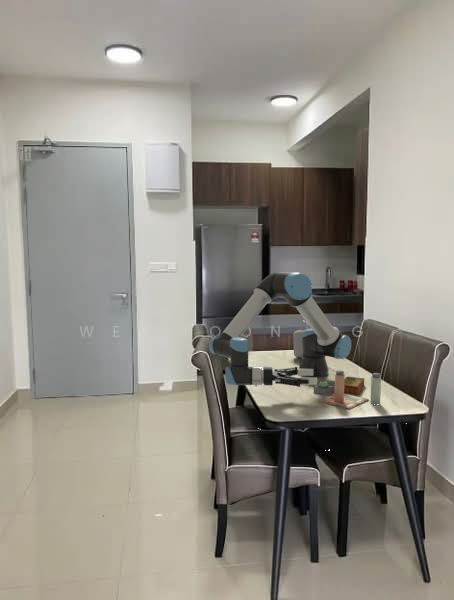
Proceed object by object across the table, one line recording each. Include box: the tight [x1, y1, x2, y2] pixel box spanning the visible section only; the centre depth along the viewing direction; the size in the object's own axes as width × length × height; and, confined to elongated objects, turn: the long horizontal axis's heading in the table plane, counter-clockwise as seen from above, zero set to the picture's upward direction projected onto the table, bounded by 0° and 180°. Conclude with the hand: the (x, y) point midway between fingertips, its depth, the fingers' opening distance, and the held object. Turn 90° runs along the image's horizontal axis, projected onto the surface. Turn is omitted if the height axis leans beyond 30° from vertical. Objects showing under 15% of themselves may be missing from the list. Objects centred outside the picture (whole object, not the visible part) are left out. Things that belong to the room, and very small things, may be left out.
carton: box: [344, 376, 365, 396], centre depth 207 cm, size 8×16×4 cm, turn 154°
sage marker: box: [369, 372, 382, 406], centre depth 187 cm, size 4×4×12 cm
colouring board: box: [318, 393, 370, 410], centre depth 190 cm, size 16×14×1 cm
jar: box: [292, 322, 311, 359], centre depth 270 cm, size 19×15×25 cm
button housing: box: [313, 384, 334, 396], centre depth 203 cm, size 6×6×2 cm
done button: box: [319, 380, 328, 388], centre depth 203 cm, size 3×3×2 cm
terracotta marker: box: [333, 369, 346, 403], centre depth 187 cm, size 4×4×12 cm
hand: (315, 376), depth 188 cm, fingers open, 13 cm apart
